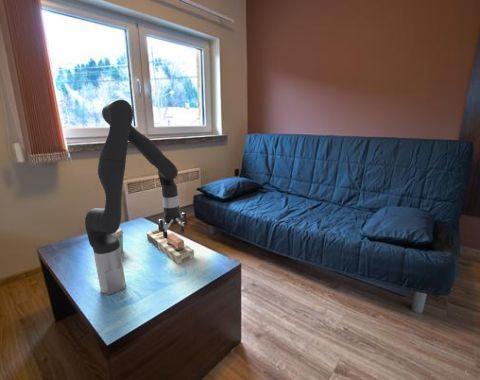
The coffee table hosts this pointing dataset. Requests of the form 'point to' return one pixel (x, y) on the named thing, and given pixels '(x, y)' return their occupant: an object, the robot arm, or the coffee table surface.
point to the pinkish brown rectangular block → (175, 242)
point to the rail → (169, 247)
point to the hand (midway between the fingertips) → (174, 235)
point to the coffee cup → (119, 237)
